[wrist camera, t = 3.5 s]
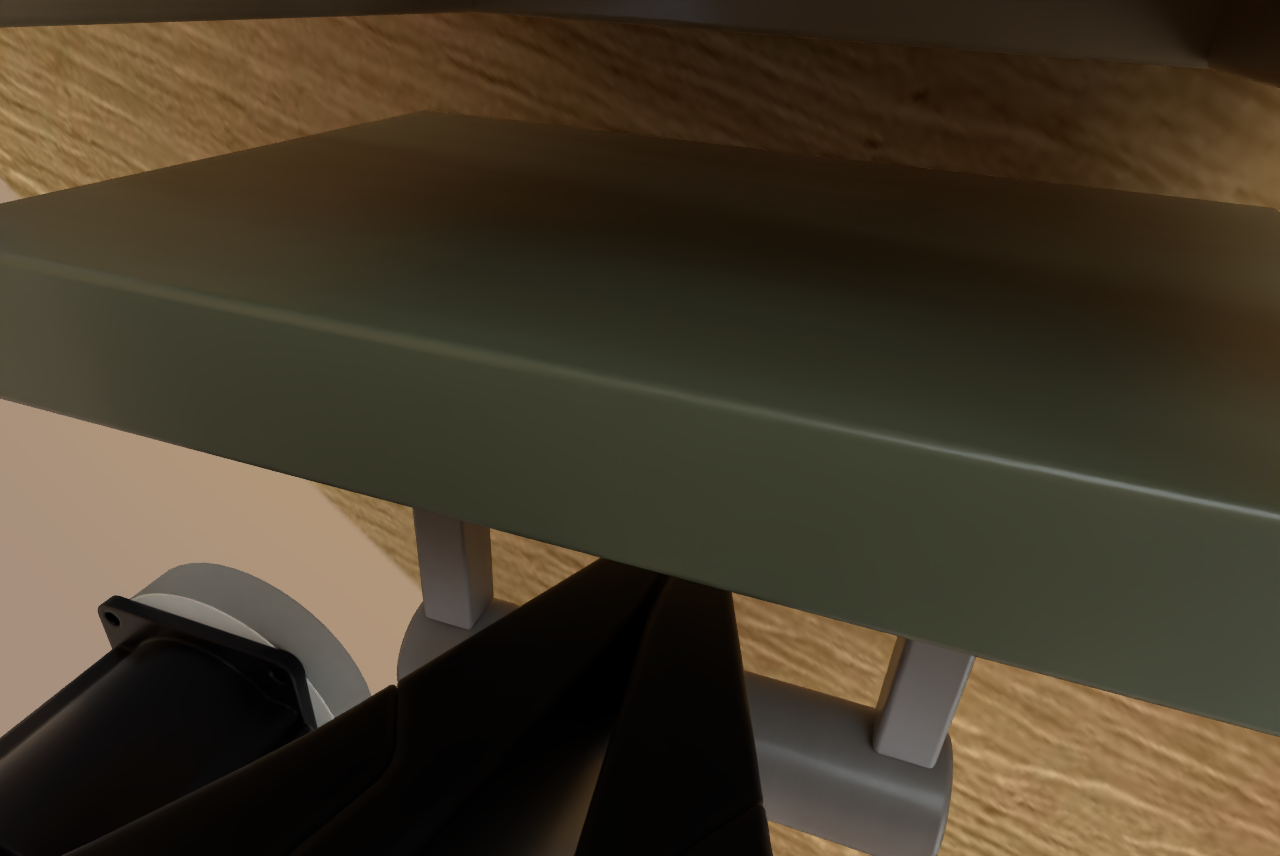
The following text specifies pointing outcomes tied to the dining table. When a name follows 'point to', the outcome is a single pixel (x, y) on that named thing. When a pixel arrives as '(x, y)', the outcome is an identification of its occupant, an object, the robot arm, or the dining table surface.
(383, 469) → the drawer
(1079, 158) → the dining table surface
